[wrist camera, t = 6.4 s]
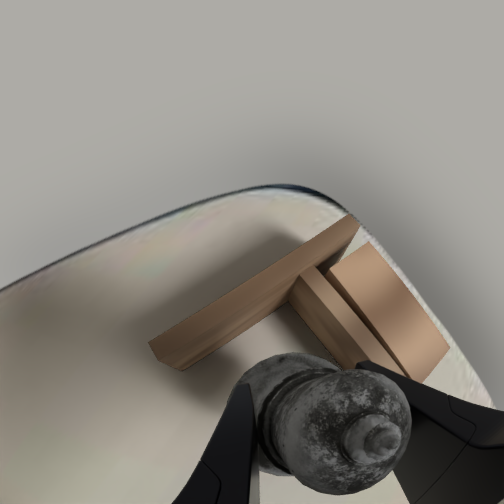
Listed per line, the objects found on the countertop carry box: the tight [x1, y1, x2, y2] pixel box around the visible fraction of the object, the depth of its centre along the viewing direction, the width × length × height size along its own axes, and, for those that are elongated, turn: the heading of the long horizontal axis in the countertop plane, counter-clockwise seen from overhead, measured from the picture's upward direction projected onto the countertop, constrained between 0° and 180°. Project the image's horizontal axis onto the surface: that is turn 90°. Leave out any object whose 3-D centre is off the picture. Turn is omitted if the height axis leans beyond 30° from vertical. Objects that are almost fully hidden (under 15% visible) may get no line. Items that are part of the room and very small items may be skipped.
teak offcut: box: [324, 242, 450, 383], centre depth 17 cm, size 10×4×2 cm, turn 33°
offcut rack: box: [148, 214, 406, 377], centre depth 16 cm, size 14×16×6 cm
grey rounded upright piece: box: [227, 352, 412, 495], centre depth 8 cm, size 6×6×12 cm
